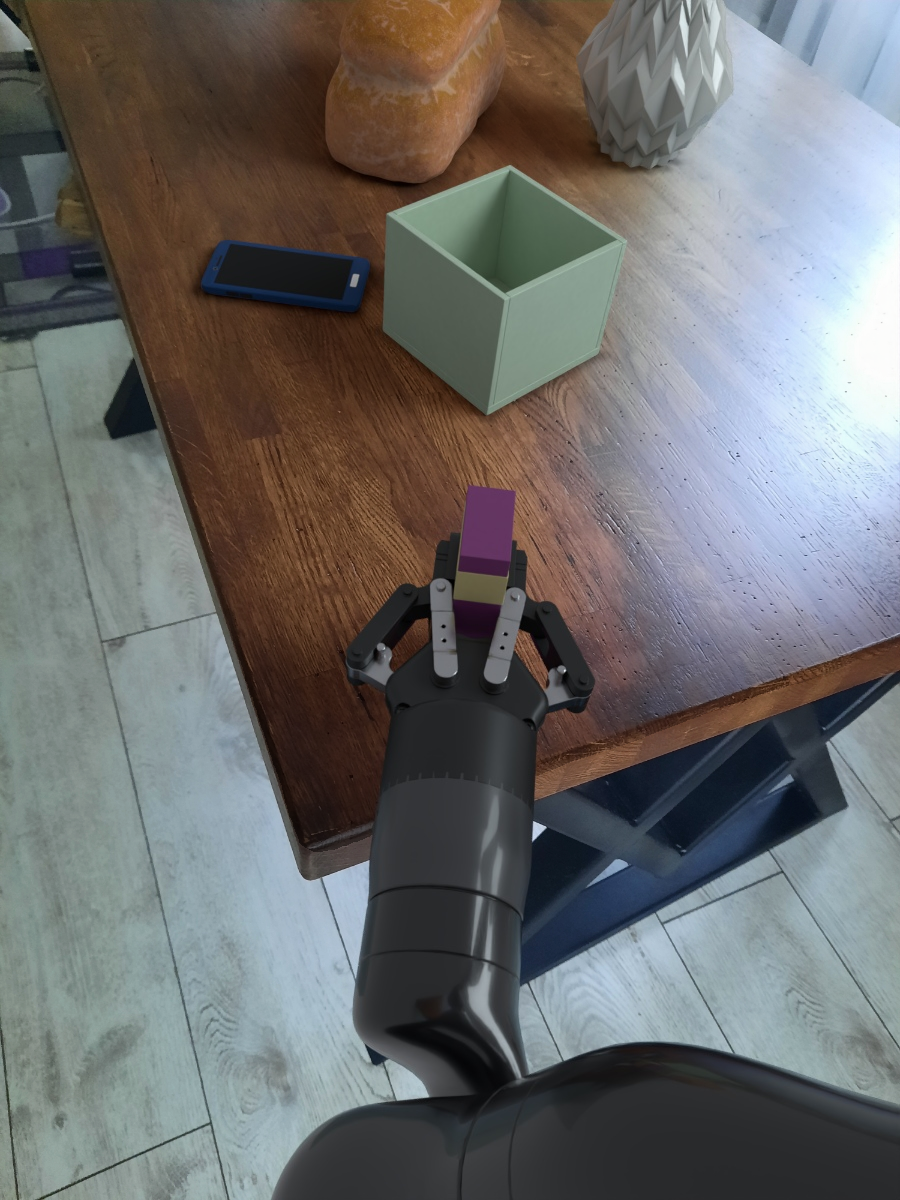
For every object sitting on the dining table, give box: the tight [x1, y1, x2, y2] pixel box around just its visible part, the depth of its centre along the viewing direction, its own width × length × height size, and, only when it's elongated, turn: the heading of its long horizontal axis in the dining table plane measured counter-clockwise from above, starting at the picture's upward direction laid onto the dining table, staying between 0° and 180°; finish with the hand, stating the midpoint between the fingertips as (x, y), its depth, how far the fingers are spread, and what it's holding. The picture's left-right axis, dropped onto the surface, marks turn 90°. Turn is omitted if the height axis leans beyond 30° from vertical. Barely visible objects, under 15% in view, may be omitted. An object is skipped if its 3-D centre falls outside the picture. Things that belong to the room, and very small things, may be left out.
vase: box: [575, 0, 735, 170], centre depth 94 cm, size 16×16×18 cm
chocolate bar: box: [453, 484, 517, 638], centre depth 53 cm, size 5×3×12 cm, turn 174°
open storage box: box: [382, 164, 628, 416], centre depth 75 cm, size 13×13×11 cm
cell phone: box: [200, 239, 371, 313], centre depth 82 cm, size 7×14×1 cm, turn 84°
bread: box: [324, 0, 507, 184], centre depth 95 cm, size 14×26×15 cm, turn 161°
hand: (481, 546), depth 55 cm, fingers closed on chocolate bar, 2 cm apart
